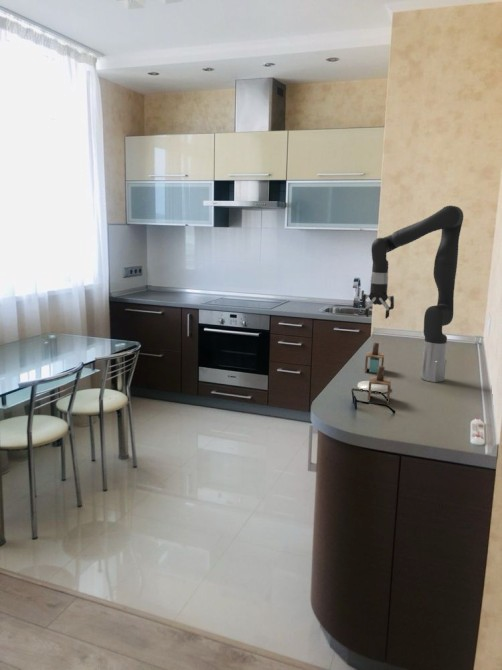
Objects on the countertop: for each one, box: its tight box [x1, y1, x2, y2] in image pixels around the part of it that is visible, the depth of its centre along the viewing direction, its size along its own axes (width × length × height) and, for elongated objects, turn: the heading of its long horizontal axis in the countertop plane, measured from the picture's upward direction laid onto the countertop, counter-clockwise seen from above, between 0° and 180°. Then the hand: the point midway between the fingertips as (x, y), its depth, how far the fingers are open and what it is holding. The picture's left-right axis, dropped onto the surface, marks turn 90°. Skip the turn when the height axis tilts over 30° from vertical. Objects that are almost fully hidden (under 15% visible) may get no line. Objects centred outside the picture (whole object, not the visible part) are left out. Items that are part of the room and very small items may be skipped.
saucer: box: [357, 380, 388, 394], centre depth 230 cm, size 13×13×1 cm
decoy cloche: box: [367, 365, 392, 405], centre depth 215 cm, size 8×8×13 cm
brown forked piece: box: [364, 342, 385, 374], centre depth 255 cm, size 8×8×13 cm
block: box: [368, 357, 380, 374], centre depth 255 cm, size 4×4×6 cm
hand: (376, 317), depth 255 cm, fingers open, 8 cm apart
